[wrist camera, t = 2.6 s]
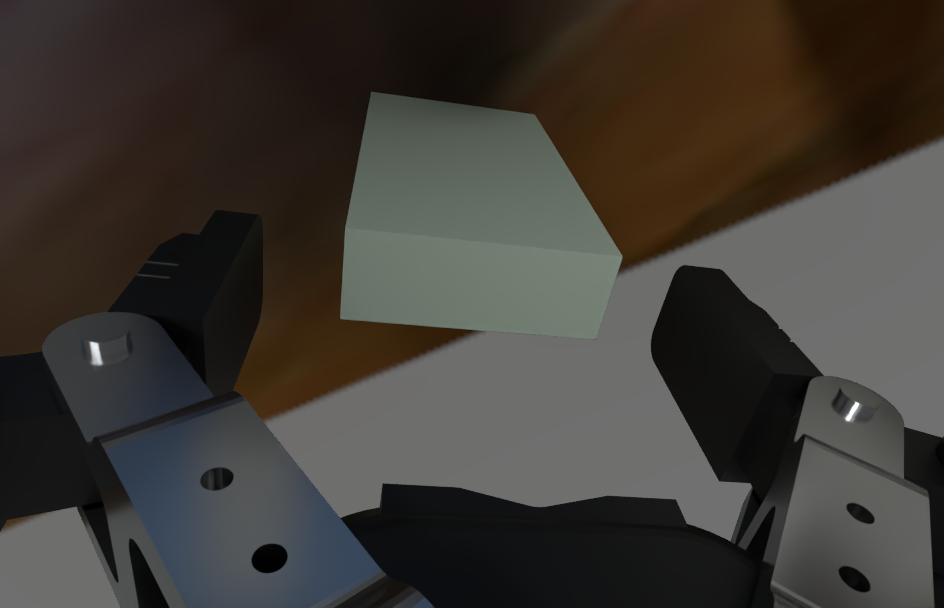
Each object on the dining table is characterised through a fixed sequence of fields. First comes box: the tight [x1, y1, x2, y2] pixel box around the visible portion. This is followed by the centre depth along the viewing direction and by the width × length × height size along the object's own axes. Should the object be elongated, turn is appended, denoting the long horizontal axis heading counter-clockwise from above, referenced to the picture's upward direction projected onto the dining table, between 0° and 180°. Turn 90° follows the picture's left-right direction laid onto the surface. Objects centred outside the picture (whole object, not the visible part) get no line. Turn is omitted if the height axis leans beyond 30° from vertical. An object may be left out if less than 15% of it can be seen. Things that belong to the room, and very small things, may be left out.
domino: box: [340, 92, 623, 340], centre depth 15 cm, size 2×5×9 cm, turn 81°
